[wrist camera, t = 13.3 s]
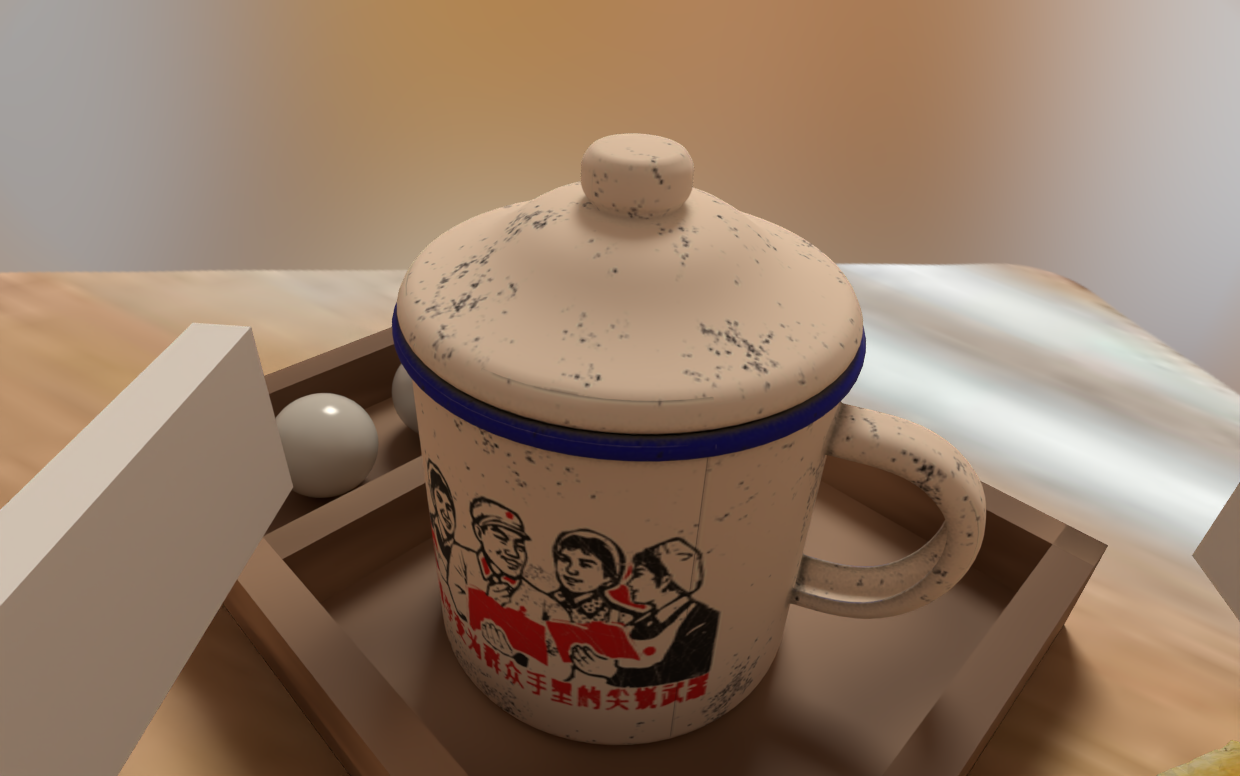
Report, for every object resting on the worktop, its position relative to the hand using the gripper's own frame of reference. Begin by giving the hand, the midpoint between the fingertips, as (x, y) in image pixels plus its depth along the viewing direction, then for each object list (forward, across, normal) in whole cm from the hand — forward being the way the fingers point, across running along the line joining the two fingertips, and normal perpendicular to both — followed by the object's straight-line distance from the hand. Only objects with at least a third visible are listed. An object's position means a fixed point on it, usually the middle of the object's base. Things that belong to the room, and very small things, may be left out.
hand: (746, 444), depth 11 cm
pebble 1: (+9, -10, -10) cm, 17 cm away
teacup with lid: (+5, 0, -10) cm, 11 cm away
